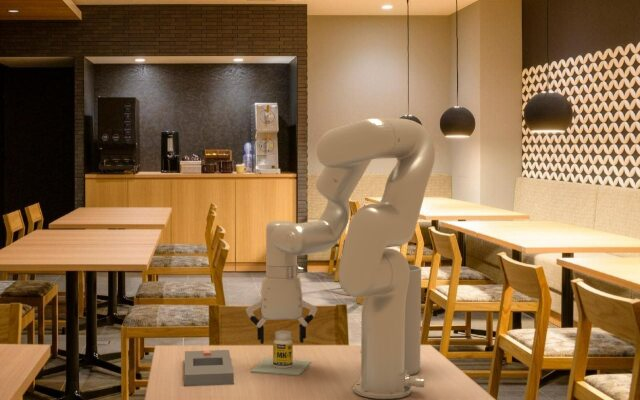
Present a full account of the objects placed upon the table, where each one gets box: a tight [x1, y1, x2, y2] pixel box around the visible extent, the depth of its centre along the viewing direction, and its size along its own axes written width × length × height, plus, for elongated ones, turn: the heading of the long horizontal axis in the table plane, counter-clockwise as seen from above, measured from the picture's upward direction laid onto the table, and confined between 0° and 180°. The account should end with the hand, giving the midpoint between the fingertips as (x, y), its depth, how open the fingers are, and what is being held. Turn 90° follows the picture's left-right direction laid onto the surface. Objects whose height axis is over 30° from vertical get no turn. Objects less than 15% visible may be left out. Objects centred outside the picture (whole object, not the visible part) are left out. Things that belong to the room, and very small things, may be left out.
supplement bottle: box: [272, 329, 294, 368], centre depth 206 cm, size 5×5×8 cm
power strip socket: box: [184, 349, 235, 387], centre depth 202 cm, size 22×11×3 cm, turn 9°
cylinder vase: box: [404, 264, 422, 376], centre depth 203 cm, size 12×12×25 cm
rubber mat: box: [250, 358, 312, 377], centre depth 206 cm, size 12×12×1 cm
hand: (281, 342), depth 206 cm, fingers open, 9 cm apart
